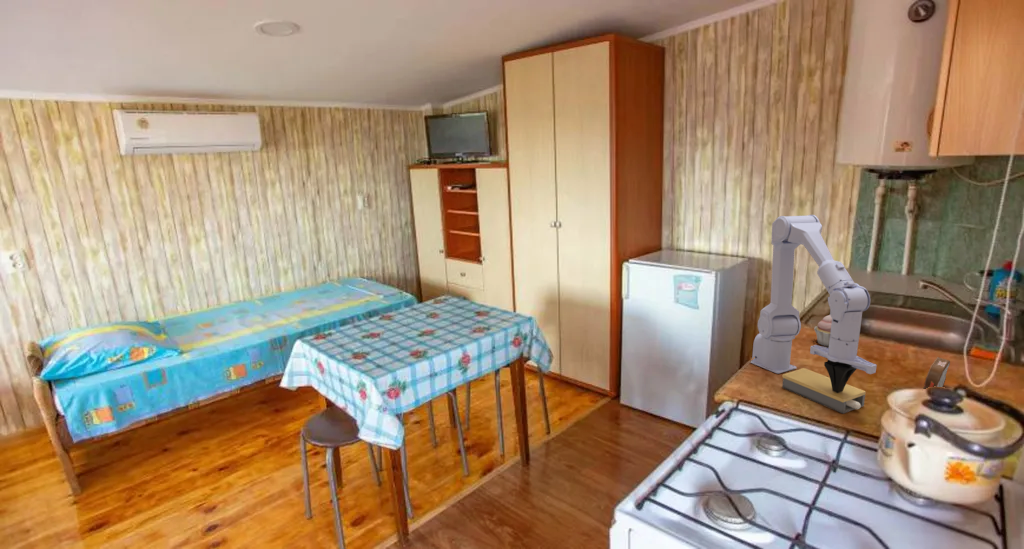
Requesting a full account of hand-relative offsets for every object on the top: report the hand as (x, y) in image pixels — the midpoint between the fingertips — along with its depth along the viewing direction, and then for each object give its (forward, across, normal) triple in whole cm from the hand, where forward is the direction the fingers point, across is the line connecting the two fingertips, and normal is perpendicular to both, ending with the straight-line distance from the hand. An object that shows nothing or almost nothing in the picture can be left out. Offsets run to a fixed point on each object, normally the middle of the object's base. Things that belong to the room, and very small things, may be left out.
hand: (837, 390), depth 125 cm
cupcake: (+4, -27, +38) cm, 47 cm away
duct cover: (+1, -5, +2) cm, 5 cm away
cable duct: (+4, -5, +2) cm, 7 cm away
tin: (+4, +7, +28) cm, 29 cm away
